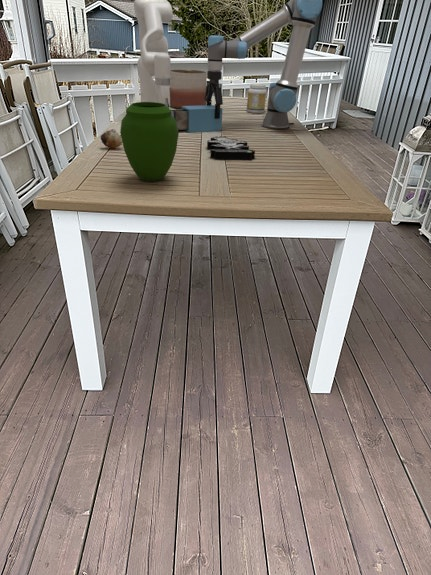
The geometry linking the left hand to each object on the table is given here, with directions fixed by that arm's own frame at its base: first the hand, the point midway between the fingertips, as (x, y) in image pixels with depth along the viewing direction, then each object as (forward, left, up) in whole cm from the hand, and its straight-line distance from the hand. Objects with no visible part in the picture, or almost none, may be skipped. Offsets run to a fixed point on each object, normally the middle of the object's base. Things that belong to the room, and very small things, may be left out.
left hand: (163, 121), depth 212 cm
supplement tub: (-75, +55, -5) cm, 93 cm away
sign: (+35, +33, -5) cm, 48 cm away
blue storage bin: (-9, +20, -5) cm, 22 cm away
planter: (-82, +8, -5) cm, 83 cm away
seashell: (+40, -18, -5) cm, 44 cm away
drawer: (-4, +8, -4) cm, 10 cm away
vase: (+80, +4, -5) cm, 80 cm away
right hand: (-12, +25, +1) cm, 28 cm away
